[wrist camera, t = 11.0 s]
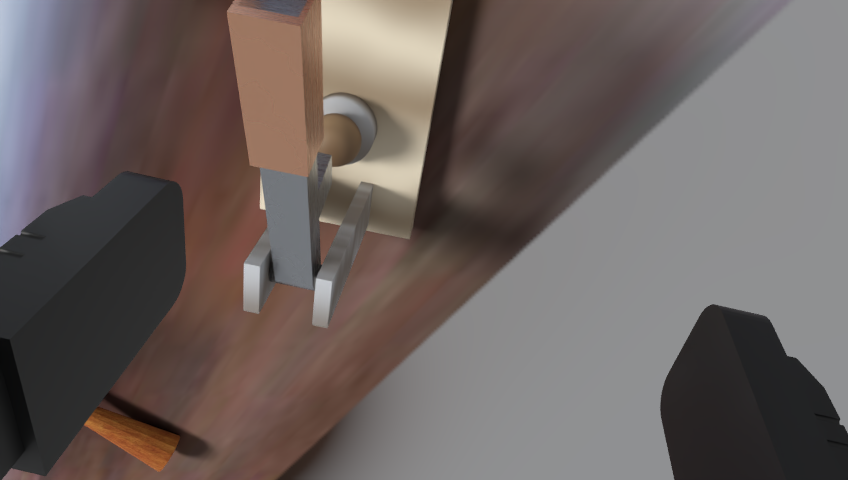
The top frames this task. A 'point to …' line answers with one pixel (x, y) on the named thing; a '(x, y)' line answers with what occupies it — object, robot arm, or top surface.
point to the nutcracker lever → (285, 125)
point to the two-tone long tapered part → (135, 437)
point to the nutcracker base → (367, 132)
